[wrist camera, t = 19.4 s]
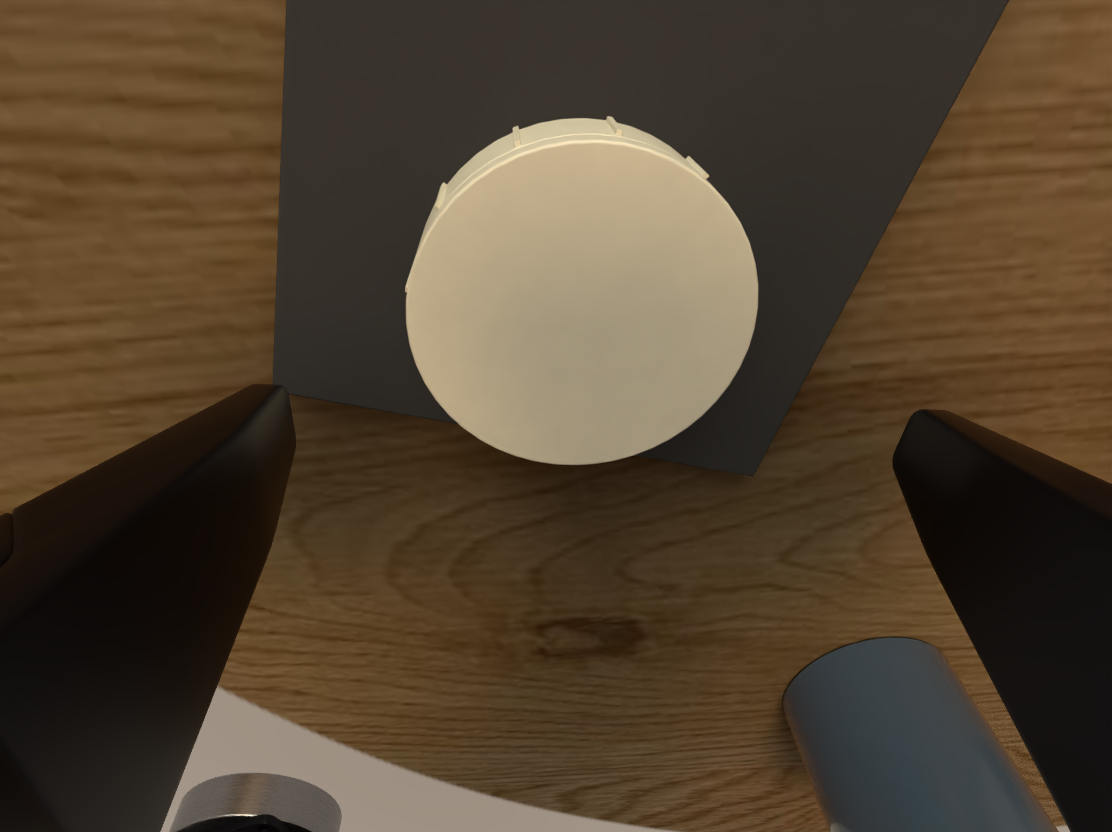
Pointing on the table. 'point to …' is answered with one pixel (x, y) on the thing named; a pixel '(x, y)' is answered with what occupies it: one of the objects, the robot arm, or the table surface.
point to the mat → (631, 99)
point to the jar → (903, 745)
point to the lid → (580, 293)
